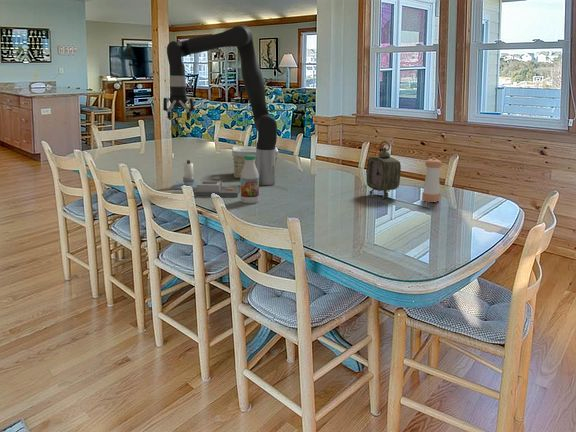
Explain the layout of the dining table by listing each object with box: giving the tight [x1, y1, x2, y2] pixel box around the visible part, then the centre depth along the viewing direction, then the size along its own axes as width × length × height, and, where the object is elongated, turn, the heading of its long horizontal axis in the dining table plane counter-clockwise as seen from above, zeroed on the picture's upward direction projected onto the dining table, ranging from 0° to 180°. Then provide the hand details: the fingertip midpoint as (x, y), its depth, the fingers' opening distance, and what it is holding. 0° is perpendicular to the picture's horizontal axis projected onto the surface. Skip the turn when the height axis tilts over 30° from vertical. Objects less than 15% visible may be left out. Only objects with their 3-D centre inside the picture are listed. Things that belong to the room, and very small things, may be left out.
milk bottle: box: [240, 155, 260, 205], centre depth 231 cm, size 8×8×20 cm
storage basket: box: [231, 145, 279, 179], centre depth 287 cm, size 24×16×15 cm
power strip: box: [192, 180, 241, 198], centre depth 246 cm, size 20×12×5 cm, turn 90°
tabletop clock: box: [366, 140, 402, 200], centre depth 244 cm, size 14×9×25 cm, turn 24°
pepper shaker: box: [421, 157, 443, 203], centre depth 238 cm, size 7×7×19 cm
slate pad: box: [170, 180, 200, 191], centre depth 260 cm, size 14×14×1 cm
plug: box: [182, 159, 195, 185], centre depth 259 cm, size 5×5×12 cm
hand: (179, 120), depth 264 cm, fingers open, 8 cm apart
